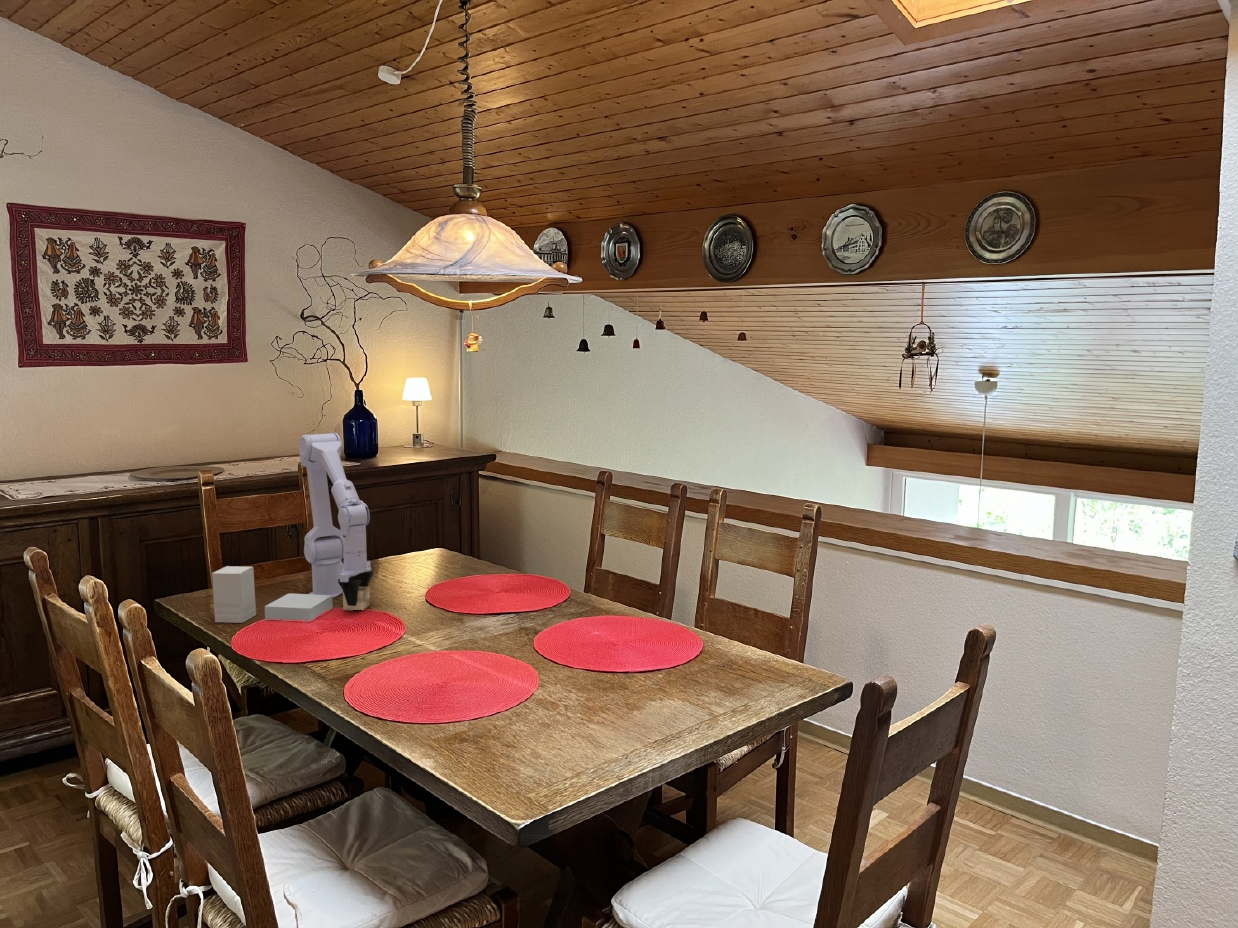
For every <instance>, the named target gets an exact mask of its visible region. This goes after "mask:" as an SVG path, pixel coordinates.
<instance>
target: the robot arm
mask: <svg viewBox="0 0 1238 928" xmlns="http://www.w3.org/2000/svg"><path fill="white" fill-rule="evenodd" d="M342 449H343V443H342V438H341V437H340V435H339V433H337V432H331V433H317V434H315V433H314V434H303V435H301V437H300V438H299V442H298V453H299V460H300V465H301V466H303V467H306V474H307V484H308V489H309V490H308V491H309V499H310V506H311V507H310V508H311V513H312V523H313V525H312V526H313V527H312V529H310V530H309V532H307V533H306V534H305V536H304V547H303V553H304V558H305V560H306V561H307V562H308V563H309V564H311V575H312V579H311V580H312V582H311V583H312V591H311V592H309V593H308V594H313V595H332V599H333V598H336V597H338V596H339V595H342V594H343V592H344V595H345V598H346V602H347V605H348V606H356V604H357V596H358V589H359V586H362V587H369V583H370V580H371V579H372V577H373V575H374V571H372V566H371V561H370V560H368V559H367V558H368V557H367V554H368V553H367V530H366V529H367V527H366V526H368V525H369V523H370V519H371V518H370V516H371V515H370V510H369V507H368V505H367V503H364V501H363V500H360V497H359V496H358V495H359V494H358V493H357V491H356V488H355V486H354V483H353V482H352V481H351V480H349V479H347V476H346V474H345V470H344V466H343V463H342V460H341V455H342ZM328 478H329V479H330V481H331V483H332V484H333V485H332V486H331V489H330V491H331V494H332V496H333V499H334V501H335V504H336V506H337V509H338V513H337V520H338V524H339V527H340V529H339V528H337V527H335V526H334V525H333V517H332V516H333V515H332V510H331V509H332V508H331V501H330V494H329V493H330V492H329V485H328V484H329V483H328ZM323 537H324V538H323ZM342 559H343V560H342Z"/></svg>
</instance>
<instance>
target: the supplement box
mask: <svg viewBox="0 0 1238 928" xmlns="http://www.w3.org/2000/svg"><path fill="white" fill-rule="evenodd" d="M211 578H212V579H211V580H212V594H213V609H214V610H213V612H214V622H215V623H229V624H230V623H232V624H233V623H234V624H239V623H240V624H243V623H245V622H247V621H249V620H250V619H252V618H253V617H255V616H256V615H257V607H256V606H257V605H256V591H255V590H256V588H255V574H254V566H236V565H235V566H230V565H226V566H223V567H222V568H220V569H218V570H216V571H213V572H212V573H211Z"/></svg>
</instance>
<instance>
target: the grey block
mask: <svg viewBox="0 0 1238 928" xmlns="http://www.w3.org/2000/svg"><path fill="white" fill-rule="evenodd" d="M333 608H334V607H333V598H332V595H313V594H309V593H308V594H306V593H287V594H285V595H283V596H281V597H279V598H278V599H276V600H274V601H272V602H270V603H268V604H266V605H265V606H264V619H265V621H267V620H270V619H272V620H273V619H276V620H279V619H282V620H305V621H311V620H313V619H315V618H316V617H317V616H318V615H321V614H322V613H324V612H325V611H326V610H330V609H332V610H333ZM330 611H331V610H330Z"/></svg>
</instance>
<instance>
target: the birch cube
mask: <svg viewBox="0 0 1238 928" xmlns="http://www.w3.org/2000/svg"><path fill="white" fill-rule="evenodd" d="M370 597H371V596H370V586H368V587H362V586H359V589H358V596H357V604H356V606H348V605H347V602H346V598H345V595H344V592H343V593H342V610H343V611H353V610H362V611H364V610H366V609H367V608H368V607H370V606H371V600H370V599H371V598H370Z"/></svg>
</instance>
